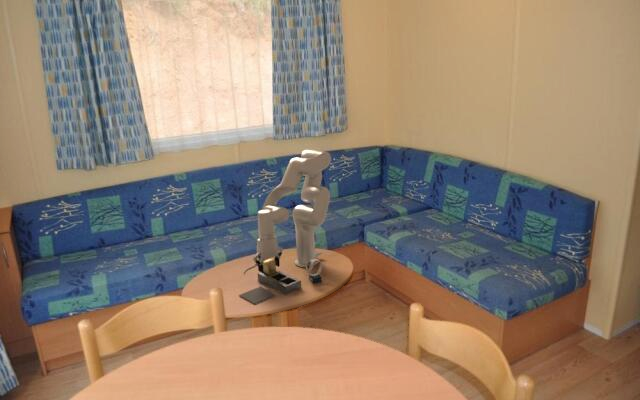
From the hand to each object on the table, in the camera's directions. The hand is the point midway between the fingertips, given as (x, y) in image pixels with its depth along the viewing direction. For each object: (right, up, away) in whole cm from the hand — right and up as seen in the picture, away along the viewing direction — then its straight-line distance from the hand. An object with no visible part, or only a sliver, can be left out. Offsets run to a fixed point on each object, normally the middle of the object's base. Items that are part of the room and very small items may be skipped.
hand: (269, 268), depth 231 cm
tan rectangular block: (0, -6, +2) cm, 6 cm away
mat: (-4, -10, -14) cm, 18 cm away
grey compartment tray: (+5, -7, -3) cm, 9 cm away
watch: (+22, -6, -1) cm, 23 cm away
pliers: (-10, -2, +18) cm, 21 cm away
